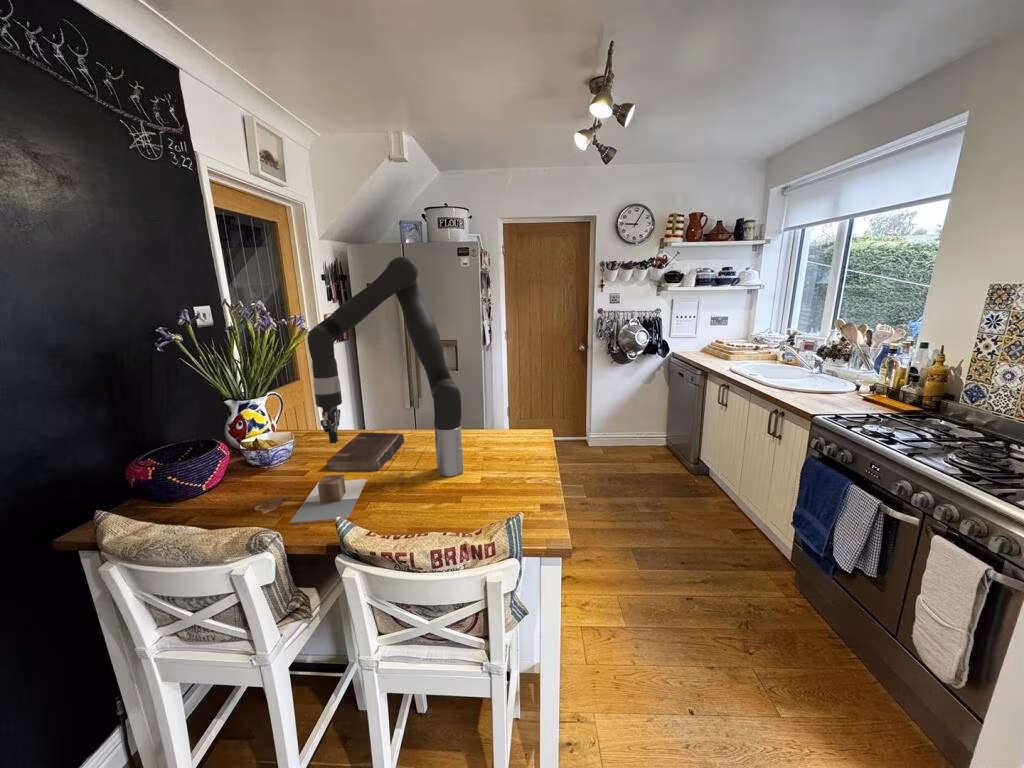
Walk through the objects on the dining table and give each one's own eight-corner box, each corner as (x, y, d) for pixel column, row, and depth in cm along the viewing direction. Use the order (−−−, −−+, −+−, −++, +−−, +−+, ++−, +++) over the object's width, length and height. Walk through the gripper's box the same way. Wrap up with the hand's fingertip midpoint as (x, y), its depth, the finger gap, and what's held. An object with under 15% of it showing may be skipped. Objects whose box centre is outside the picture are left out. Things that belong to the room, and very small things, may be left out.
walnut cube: (343, 474, 130) (338, 483, 124) (345, 491, 131) (340, 501, 125) (324, 475, 129) (317, 484, 123) (326, 492, 131) (320, 502, 125)
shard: (291, 496, 132) (290, 491, 131) (302, 503, 127) (301, 498, 127) (254, 511, 123) (253, 505, 123) (264, 519, 119) (263, 514, 118)
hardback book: (379, 474, 146) (378, 461, 145) (328, 474, 147) (326, 461, 146) (404, 443, 174) (403, 432, 173) (361, 443, 175) (360, 432, 174)
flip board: (367, 481, 140) (367, 479, 139) (349, 520, 117) (348, 517, 116) (318, 485, 138) (318, 482, 138) (290, 525, 115) (289, 522, 114)
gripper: (333, 395, 121) (340, 449, 125) (346, 384, 134) (351, 434, 138) (307, 396, 120) (314, 451, 124) (322, 385, 133) (328, 435, 137)
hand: (334, 442), depth 131 cm, fingers closed
